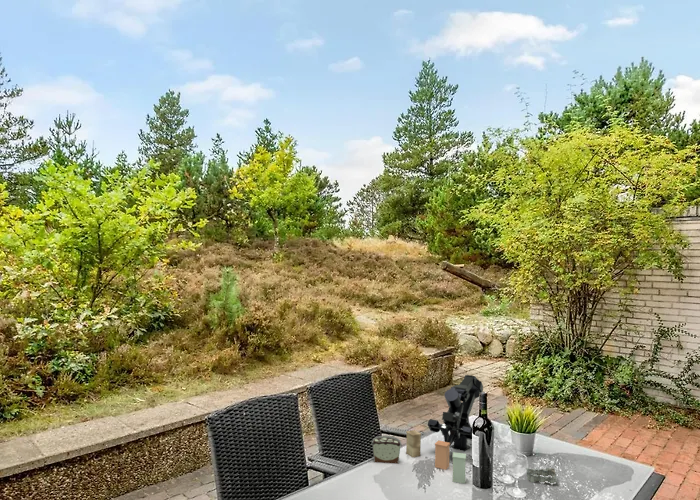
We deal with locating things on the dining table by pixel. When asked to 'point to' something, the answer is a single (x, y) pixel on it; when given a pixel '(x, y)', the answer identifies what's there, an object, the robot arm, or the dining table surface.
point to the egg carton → (535, 474)
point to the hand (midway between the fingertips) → (446, 448)
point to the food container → (386, 449)
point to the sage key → (459, 467)
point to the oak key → (413, 443)
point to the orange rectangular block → (442, 454)
